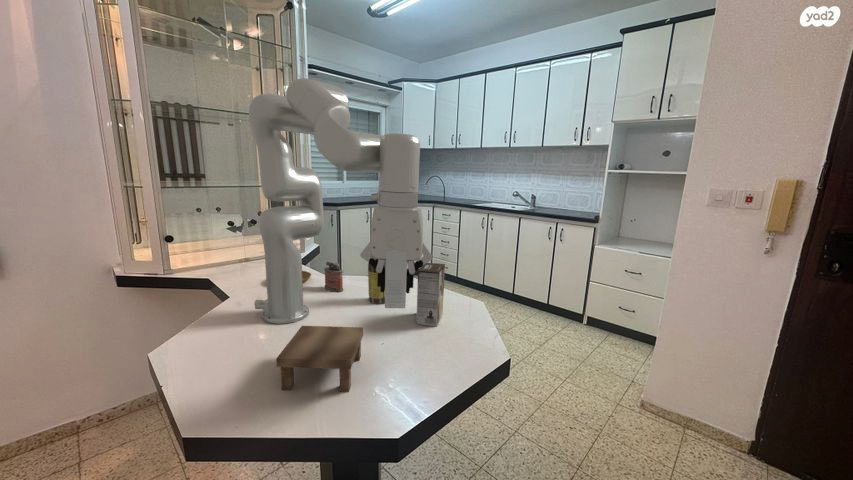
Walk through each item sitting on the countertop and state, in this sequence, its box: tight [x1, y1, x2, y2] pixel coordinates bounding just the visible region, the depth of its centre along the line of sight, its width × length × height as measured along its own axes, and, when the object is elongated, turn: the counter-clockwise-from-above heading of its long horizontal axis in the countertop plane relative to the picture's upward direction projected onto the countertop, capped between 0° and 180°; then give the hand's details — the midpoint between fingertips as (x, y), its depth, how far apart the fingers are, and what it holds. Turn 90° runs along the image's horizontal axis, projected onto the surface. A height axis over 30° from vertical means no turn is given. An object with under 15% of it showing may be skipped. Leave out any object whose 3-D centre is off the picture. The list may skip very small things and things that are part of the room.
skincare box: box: [384, 250, 408, 309], centre depth 69 cm, size 6×4×12 cm
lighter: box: [323, 261, 344, 293], centre depth 122 cm, size 8×3×10 cm, turn 58°
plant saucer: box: [302, 270, 312, 284], centre depth 129 cm, size 15×15×3 cm
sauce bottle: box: [367, 259, 386, 305], centre depth 111 cm, size 6×6×20 cm
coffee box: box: [416, 262, 446, 327], centre depth 99 cm, size 9×6×16 cm
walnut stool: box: [276, 325, 364, 393], centre depth 72 cm, size 14×14×7 cm
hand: (395, 289), depth 70 cm, fingers closed on skincare box, 4 cm apart
